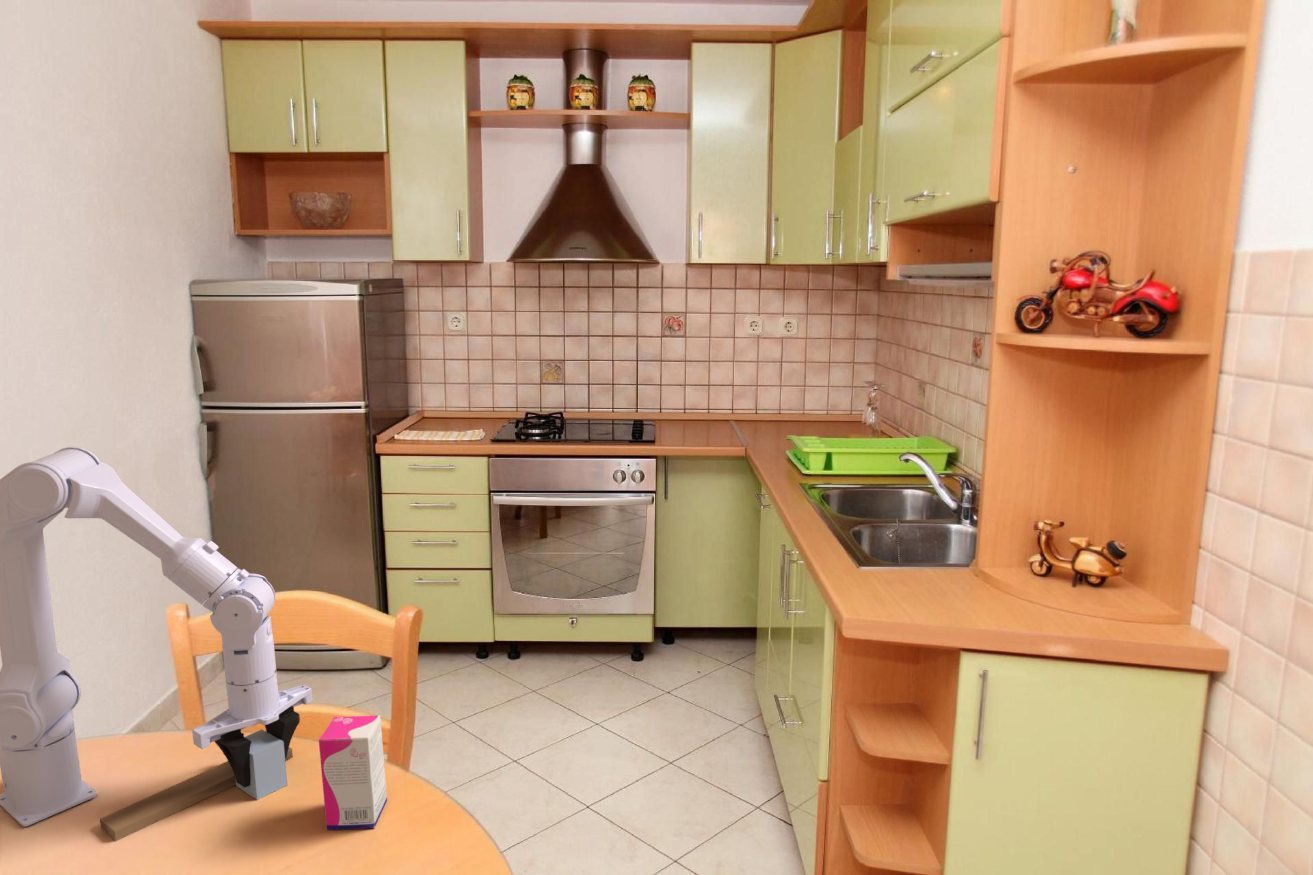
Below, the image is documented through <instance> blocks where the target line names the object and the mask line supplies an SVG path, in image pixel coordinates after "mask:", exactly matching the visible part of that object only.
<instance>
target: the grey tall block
mask: <svg viewBox="0 0 1313 875" xmlns="http://www.w3.org/2000/svg"><path fill="white" fill-rule="evenodd" d="M244 737H245V738H247V739H248V740H250V741H251V745H250V752H249V767H250V776H251V779H250V786H248V787H243V786H241V785H240V784H238V783H237V781H236V784H235V786H236V787H237V788H239V789H241V790H242V791H243V792H244V793H246V794H248V795H250V796H251V797H252V798H254V799H255V800H257V801H258V800H260V799H262V798H264V797H265V796H268V795H270V794H272V793H274V792H276V791H278V790H280V789H282V788H284V787H286V786H288V776H287V766H286V765H287V764H286V763H285V753H284V742H283V741H282V740H280V739H278V738H276V737H275V736H273V735H271V734H269V733H268V732H266V730H264V729H260V730H258V731H255V732H253V733H250V734H248V735H246V736H244ZM222 754H223V755H224V753H223V752H222Z"/></svg>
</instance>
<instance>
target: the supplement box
mask: <svg viewBox="0 0 1313 875" xmlns="http://www.w3.org/2000/svg"><path fill="white" fill-rule="evenodd" d="M383 745H384V744H383V734H382V720H381V715H357V716H354V715H353V716H352V715H351V716H334V718H332V720H331V721H330V722H329V725H328V726H327V728H326V729H325V731H324V732H323V734H322V735H321V736H320V737H319V739H318V747H319V758H320V768H321V780H322V791H323V802H324V803H323V804H324V814H325V827H326V830H329V831H330V830H353V829H356V830H358V829H375V828H376V826H377V824H378V821H379V819H380V817H381V815H382V813H383V811H384V809H385V806H386V804H387V801H388V797H387V795H388V794H387V784H386V773H385V772H386V770H385V759H384V746H383Z"/></svg>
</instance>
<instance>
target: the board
mask: <svg viewBox="0 0 1313 875" xmlns="http://www.w3.org/2000/svg"><path fill="white" fill-rule="evenodd" d="M291 758H293V748H292V747H290V746H289V749H288V753H287V758H286V761H287V760H290V759H291ZM232 786H236V778H235V775H234V772H233V770H232V768H231V765H230V763H229V762H228V760H227V761H224V762H223V763H221V764H218V765H216V766H213V767H211V768H210V769H207V770H205V771H202V772H200V773H198V774H196V775H194V776H192V777H189V778H187V779H185V780H182V781H181V782H178V783H176V784H174V785H172V786H170V787H167V788H165V789H162V790H161V791H158V792H157V793H156V792H155V793H154V794H151V795H150V796H147V797H145V798H143V799H140V800H139V801H136V802H134V803H132V804H129V805H128V806H127V805H126V806H125V807H123V808H121V809H119V810H117V811H114V812H111V813H109V814H107V815H105V816H103V817H100V818H99V823H100V824H99V825H100V829H101V830H103V832H105V833H106V834H107V835H109V836H110V838H112V839H113V838H114V839H113V840H115V841H116V842H117V841H119V840H120V838H121V839H123V838H125V837H127V836H129V835H131V833H132V834H133V833H136V832H137V831H140V830H142V829H145V828H146V827H148V826H150V825H153V824H154V823H157V822H159V821H161V820H163V819H165V818H167V817H169V816H171V815H174V814H176V813H178V812H180V811H181V810H184V809H186V808H188V807H190V806H192V805H195V804H197V803H199V802H200V801H203V800H206V799H207V798H209V797H211V796H214V795H216V794H217V793H221V792H222V791H224V790H226V789H228V788H230V787H232ZM126 835H127V836H126Z"/></svg>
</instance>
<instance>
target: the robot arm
mask: <svg viewBox="0 0 1313 875" xmlns="http://www.w3.org/2000/svg"><path fill="white" fill-rule="evenodd" d="M65 509H67V510H66V512H65V514H64V519H101V520H103V521H104V522H106V523H107V524H109V525H110V526H112V527H113V528H115V529H116V530H118V531H119V532H121V533H122V534H124V535H125V536H126V537H128V538H129V539H131V540H132V541H134V542H135V543H136V544H138V545H139V546H141V547H142V548H143V549H145V550H146V551H147V552H150V553H151V554H152V555H154V556H155V557H157V558H159V560H160V563H161V570H162V575H163V576H164V577H166V579H168V580H169V581H171V583H173V584H175V586H177V587H178V588H180V590H182V591H183V592H185V593H186V594H187V595H189V596H190V597H191V598H192V599H194V600H195V601H196V602H197V603H198V604H200V605H201V606H203V607H204V608H205V609H206V610H209V611H210V612H212V614H210V615H209V620H210V621H211V624H212V625H213V628H215V630H216V631H217V632H218V633H220V634H221V642H222V645H221V646H222V657H223V665H224V666H223V667H224V674H225V676H224V677H225V686H226V696H227V702H228V703H227V704H228V709H226V710H224V711H222V712H221V713H220V714H218V715H217V716H215V717H213V718H212V719H210V720H209V721H206V722H205V723H204V724H202V725H200V726H197V727H194V729H192V730H191V733H192V743H193V745H194V746H196V747H197V748H198V749H201V750H204V749H206V748H208V747H210V746H211V743H215V744H216V745H217V747H218V748H219V750H221V752H222V754H223V753H224V754H223V755H224V757H225V759H226V760H227V761H228V762H229V763H230V765H231V768H232V770H233V772H234V775H235V778H236V781H237V783H238V784H240V785H241V786H243V787H248V786H250V779H251V776H250V767H249V752H250V745H251V741H250V740H248V739H247V738H245V737H246V736H245V735H244V732H242V730H244V729H246V728H248V727H252V726H253V727H254V726H257V725H260V724H261V725H262V726H265V727H264V728H265V731H266V732H268V733H269V734H271V735H273V736H275V737H276V738H278V739H280V740H282V741H283V742H284V753H285V763H286V762H287V760H286V758H287V753H288V749H289V747H290V744H291V741H292V739H293V736H294V734H295V732H296V729H297V727H298V725H299V724H300V722H301V721H300V720H301V719H300V714H299V713H298V712H297V711H295V709H294V708H295V707H297V706H300V705H302V704H303V705H309V704H311V703H312V702H313V692H312V688H311V687H310V686H307V685H306V684H301V685H297V686H295V687H292V688H287V689H284V690H279V687H278V686H279V685H278V675H277V664H276V663H277V662H276V654H275V653H276V652H275V643H274V641H275V640H274V635H273V629H272V628H273V626H272V617H271V616H270V615H269V614H270V613H271V611H272V609H273V608H274V605H275V603H276V591H275V589H274V587H273V586H272V584H271V583H270V582H269V581H268V579H267V577H265V576H264V575H261V574H258V573H253V572H252V573H250V572H249V571H247V570H246V569H245V568H242V569H240V568H239V567H237V565H235V564H234V563H232V562H231V561H230V560H229V559H228V558H226V557H225V555H222V553H220V551H218V549H219V548H220V547H219V545H217V544H216V543H215V542H214V541H212V540H209V541H208V542H206V541H205V540H204V539H203V538H201V537H184V536H182V535H181V534H180V533H179V532H178V531H177V530H176V529H175V528H173V527H172V526H171V525H170V524H169V523H168V522H167V521H166V520H164V518H163V517H161V516H160V515H159V514H158V513H157V512H156V511H154V509H153V508H151V507H150V506H149V505H148V504H147V503H145V502H144V501H143V500H142V499H141V498H140V497H139V496H138V495H137V494H135V492H134V491H132V490H131V489H130V487H128V486H127V485H126V484H125V483H124V482H123V481H122V480H121V477H119V475H118V473H117V472H116V470H115V469H114V468H113V467H112V466H110V465H109V464H108V463H105V462H101V460H100V459H99V458H98V456H97V455H96V454H94V452H92V451H91V450H89V449H87V448H83V447H79V446H67V447H63V448H61V449H59V450H57V451H55V452H54V453H50V454H48V455H46V456H44V457H41V458H38V459H35V460H33V461H29V462H24V463H22V464H19V465H17V466H16V467H14V468H13V469H12V470H11V471H9V472H8V473H7V474H6V475H3V477H2V478H0V657H1V664H2V665H1V666H2V667H1V669H0V775H1V781H2V787H3V793H0V806H1V808H3V810H5V811H6V812H7V813H8V814H9V815H10V816H11V817H12V818H13V819H14V820H15V821H16V822H18V824H19V825H20V826H21V827H28V826H31V825H33V824H35V823H37V822H40V821H42V820H45V819H48V818H49V817H52V816H54V815H56V814H59V813H61V812H64V811H66V810H68V809H71V808H72V807H75V806H77V805H79V804H82V803H84V802H86V801H88V800H92V799H93V798H95V797H97V793H98V792H97V791H96V790H95V789H94V788H92V787H91V786H90V785H89V784H87V783H86V782H85V781H84V780H83V779H82V774H81V773H82V771H81V765H80V758H79V751H78V743H77V737H76V730H75V723H74V722H75V721H74V708H75V707H76V706H77V705H78V704H79V701H80V700H81V697H82V688H81V684H80V682H79V680H78V679H77V677H76V676H75V675H74V673H73V671H72V669H71V663H70V659H69V658H68V656H65V655H63V654H61V653H59V652H58V648H57V638H56V630H55V624H54V623H55V622H54V621H55V620H54V614H53V613H54V612H53V606H52V605H53V604H52V596H51V589H50V588H51V587H50V581H49V580H50V579H49V578H50V577H49V572H48V563H47V562H48V561H47V554H46V547H45V546H46V545H45V539H44V536H45V535H44V528H45V527H46V526H48V524H50V523H51V522H52V521H53V520H54V519H55V518H56V517H57V516H59V515H60V514H61V513H62V512H63V511H64V510H65Z"/></svg>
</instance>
